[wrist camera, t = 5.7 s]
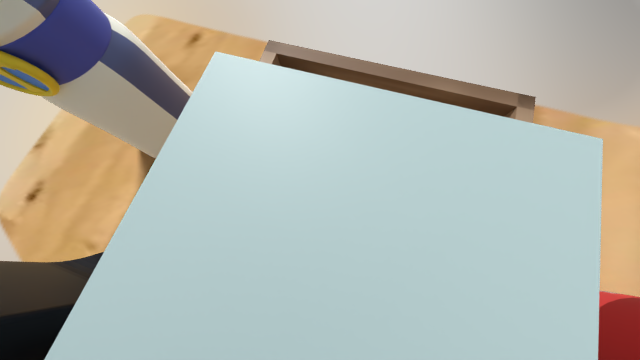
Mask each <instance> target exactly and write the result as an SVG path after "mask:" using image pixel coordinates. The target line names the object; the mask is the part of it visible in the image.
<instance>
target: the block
mask: <svg viewBox="0 0 640 360" xmlns="http://www.w3.org/2000/svg"><path fill="white" fill-rule="evenodd" d="M602 150H603V139H600V138H596V137H591V136H587V135H583V134H578V133H574V132H569V131H565V130H560V129H556V128H552V127H547V126H543V125H538V124H534V123H529V122H525V121H521V120H516V119H512V118H507V117H503V116H498V115H494V114H490V113H485V112H481V111H476V110H472V109H467V108H463V107H459V106H454V105H450V104H445V103H441V102H436V101H432V100H428V99H423V98H419V97H414V96H410V95H405V94H401V93H397V92H392V91H388V90H383V89H379V88H374V87H370V86H366V85H361V84H357V83H352V82H348V81H343V80H339V79H335V78H330V77H326V76H321V75H317V74H313V73H308V72H304V71H299V70H295V69H290V68H286V67H282V66H277V65H273V64H268V63H264V62H259V61H255V60H251V59H246V58H242V57H237V56H233V55H228V54H224V53H220V52H215V53H214V55H213V57H212V59H211V61H210V62H209V64H208V66H207V68H206V70H205V71H204V73H203V75H202V77H201V79H200V80H199V82H198V84H197V86H196V88H195V89H194V91H193V93H192V95H191V97H190V98H189V100H188V102H187V104H186V106H185V107H184V109H183V111H182V113H181V115H180V116H179V118H178V120H177V122H176V124H175V125H174V127H173V129H172V131H171V133H170V134H169V136H168V138H167V140H166V142H165V143H164V145H163V147H162V149H161V151H160V152H159V154H158V156H157V158H156V160H155V161H154V163H153V165H152V167H151V169H150V170H149V172H148V174H147V176H146V178H145V179H144V181H143V183H142V185H141V187H140V188H139V190H138V192H137V194H136V196H135V197H134V199H133V201H132V203H131V205H130V206H129V208H128V210H127V212H126V214H125V215H124V217H123V219H122V221H121V223H120V224H119V226H118V228H117V230H116V232H115V233H114V235H113V237H112V239H111V241H110V242H109V244H108V246H107V248H106V250H105V251H104V253H103V255H102V257H101V259H100V260H99V262H98V264H97V266H96V268H95V269H94V271H93V273H92V275H91V277H90V278H89V280H88V282H87V284H86V286H85V287H84V289H83V291H82V293H81V294H80V296H79V298H78V300H77V302H76V303H75V305H74V307H73V309H72V311H71V312H70V314H69V316H68V318H67V320H66V321H65V323H64V325H63V327H62V329H61V330H60V332H59V334H58V336H57V338H56V339H55V341H54V343H53V345H52V347H51V348H50V350H49V352H48V354H47V356H46V357H45V359H44V360H598V335H599V289H600V242H601V196H602Z"/></svg>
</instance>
